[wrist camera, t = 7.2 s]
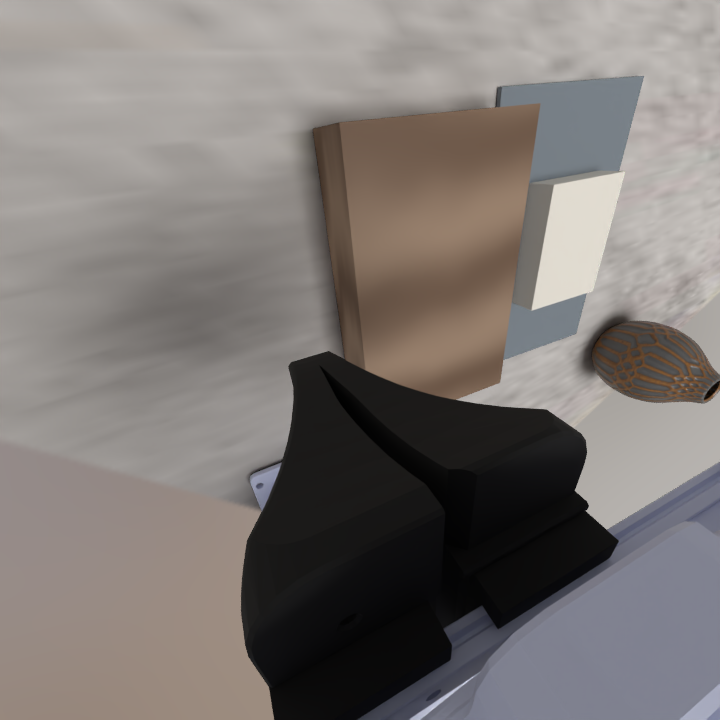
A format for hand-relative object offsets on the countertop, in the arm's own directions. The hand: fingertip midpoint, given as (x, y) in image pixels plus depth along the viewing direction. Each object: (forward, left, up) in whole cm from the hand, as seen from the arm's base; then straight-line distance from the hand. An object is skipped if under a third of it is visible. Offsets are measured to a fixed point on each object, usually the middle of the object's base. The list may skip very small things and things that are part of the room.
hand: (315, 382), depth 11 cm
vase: (-13, -31, -10) cm, 35 cm away
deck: (-1, -9, -9) cm, 13 cm away
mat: (-1, -20, -9) cm, 22 cm away
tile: (-1, -20, -7) cm, 22 cm away
